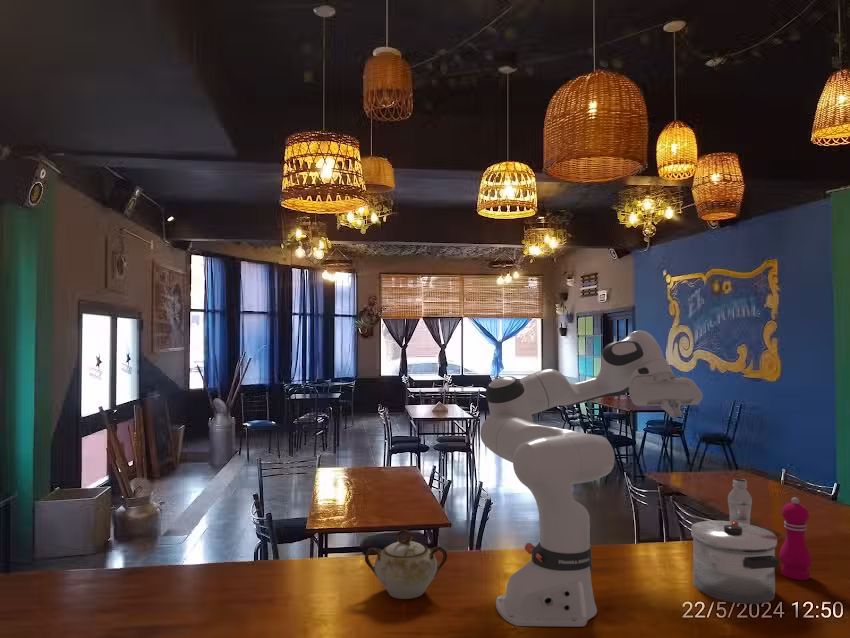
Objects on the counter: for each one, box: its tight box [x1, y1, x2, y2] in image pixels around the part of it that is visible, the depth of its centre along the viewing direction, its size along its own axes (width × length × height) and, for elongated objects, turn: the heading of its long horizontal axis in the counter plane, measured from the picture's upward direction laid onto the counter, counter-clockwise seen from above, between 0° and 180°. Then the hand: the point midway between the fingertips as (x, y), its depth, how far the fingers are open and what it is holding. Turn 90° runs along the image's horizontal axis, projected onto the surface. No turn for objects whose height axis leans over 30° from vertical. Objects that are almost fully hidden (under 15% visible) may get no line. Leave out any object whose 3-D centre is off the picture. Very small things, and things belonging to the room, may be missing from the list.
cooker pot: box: [692, 537, 780, 605], centre depth 159 cm, size 18×22×12 cm
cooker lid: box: [690, 520, 778, 552], centre depth 159 cm, size 19×19×3 cm
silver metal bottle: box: [727, 478, 753, 525], centre depth 186 cm, size 6×7×20 cm
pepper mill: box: [778, 497, 813, 581], centre depth 168 cm, size 7×7×20 cm
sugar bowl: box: [364, 529, 448, 600], centre depth 156 cm, size 20×15×15 cm
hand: (676, 415), depth 179 cm, fingers closed
